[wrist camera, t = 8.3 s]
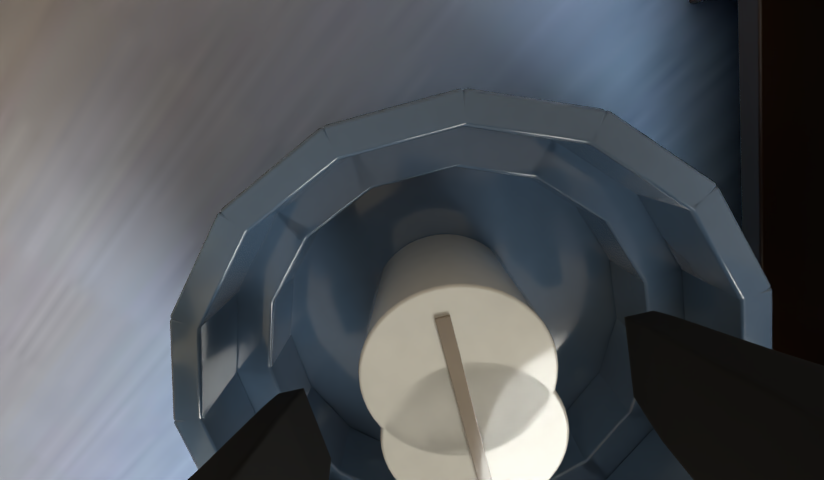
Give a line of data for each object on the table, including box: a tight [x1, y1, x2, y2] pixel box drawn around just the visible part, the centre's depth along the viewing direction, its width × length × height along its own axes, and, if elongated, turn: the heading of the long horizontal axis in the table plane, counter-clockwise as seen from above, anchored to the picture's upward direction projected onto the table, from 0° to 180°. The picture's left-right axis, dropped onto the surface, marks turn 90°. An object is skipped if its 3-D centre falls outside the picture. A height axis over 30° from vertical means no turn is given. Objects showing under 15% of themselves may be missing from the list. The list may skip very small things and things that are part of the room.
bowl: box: [170, 88, 772, 480], centre depth 10 cm, size 12×12×4 cm
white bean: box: [358, 234, 569, 480], centre depth 10 cm, size 6×4×4 cm
